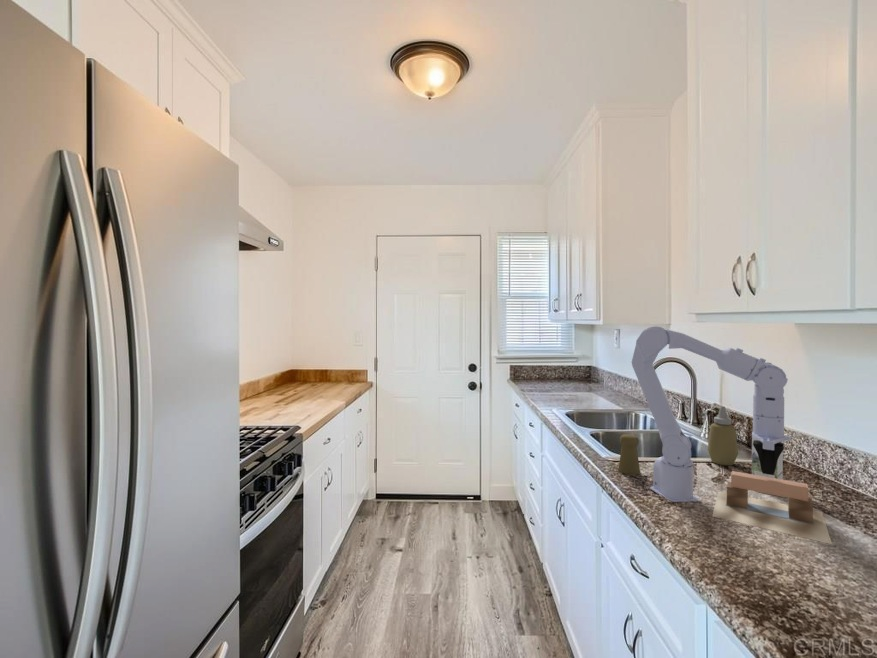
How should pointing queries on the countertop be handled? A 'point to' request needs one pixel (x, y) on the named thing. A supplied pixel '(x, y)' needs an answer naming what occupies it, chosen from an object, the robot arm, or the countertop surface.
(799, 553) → the countertop surface
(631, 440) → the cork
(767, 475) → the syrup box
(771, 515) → the board
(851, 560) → the countertop surface
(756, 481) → the beam
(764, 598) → the countertop surface
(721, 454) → the squeeze bottle
